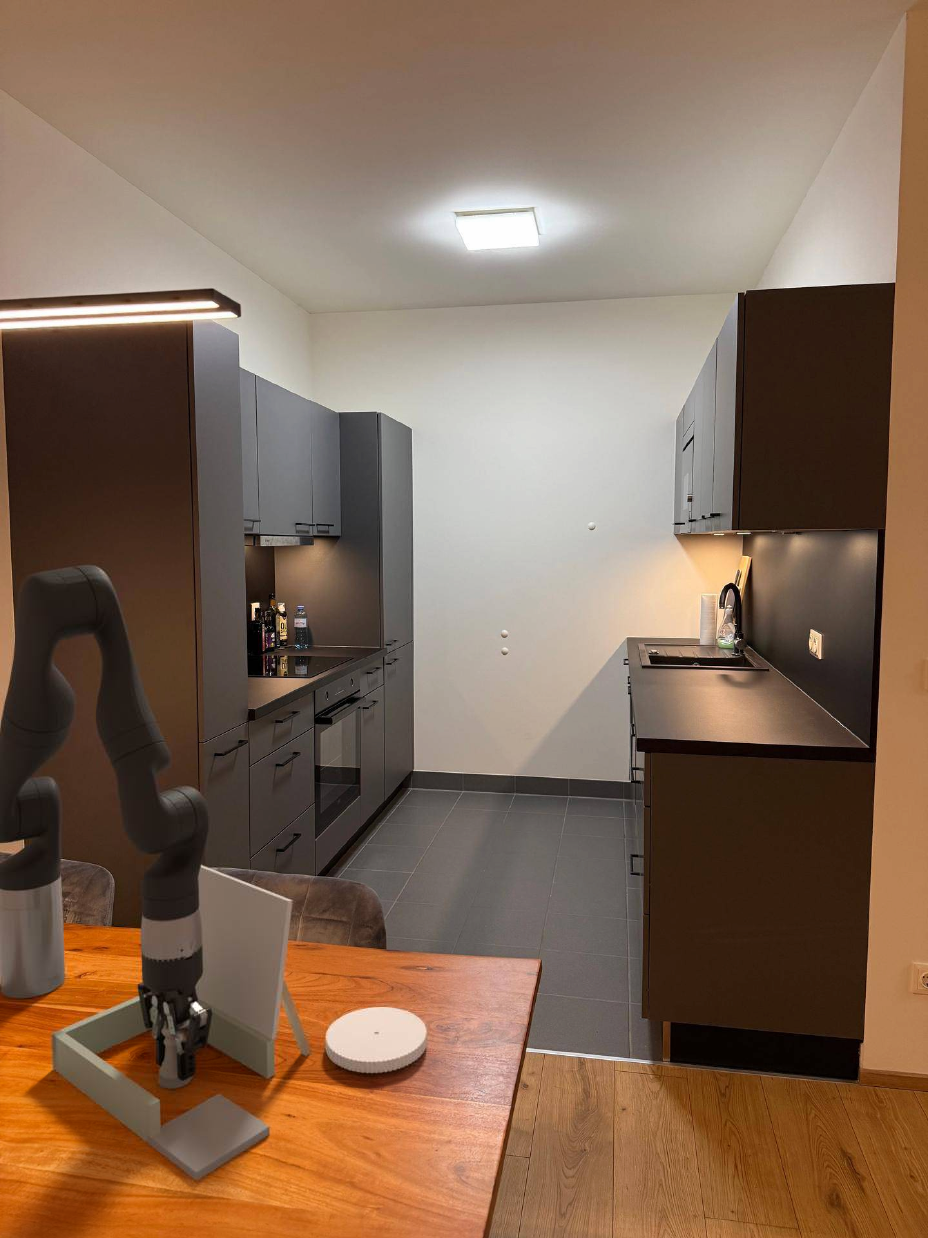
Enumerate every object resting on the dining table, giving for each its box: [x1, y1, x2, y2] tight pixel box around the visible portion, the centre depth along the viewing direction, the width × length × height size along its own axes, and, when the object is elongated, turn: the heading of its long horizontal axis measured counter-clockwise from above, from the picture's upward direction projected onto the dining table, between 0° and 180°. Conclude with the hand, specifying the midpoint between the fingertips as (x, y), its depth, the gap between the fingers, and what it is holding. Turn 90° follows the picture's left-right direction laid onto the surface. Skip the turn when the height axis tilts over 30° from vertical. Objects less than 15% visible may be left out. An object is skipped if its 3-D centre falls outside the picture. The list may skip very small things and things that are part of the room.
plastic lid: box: [325, 1006, 428, 1074], centre depth 123 cm, size 14×14×2 cm
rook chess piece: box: [157, 1020, 194, 1090], centre depth 116 cm, size 4×4×8 cm
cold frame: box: [51, 979, 312, 1143], centre depth 120 cm, size 24×24×12 cm
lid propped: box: [195, 864, 293, 1040], centre depth 125 cm, size 24×4×18 cm, turn 51°
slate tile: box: [146, 1093, 271, 1182], centre depth 105 cm, size 10×10×1 cm
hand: (175, 1069), depth 116 cm, fingers closed on rook chess piece, 4 cm apart
